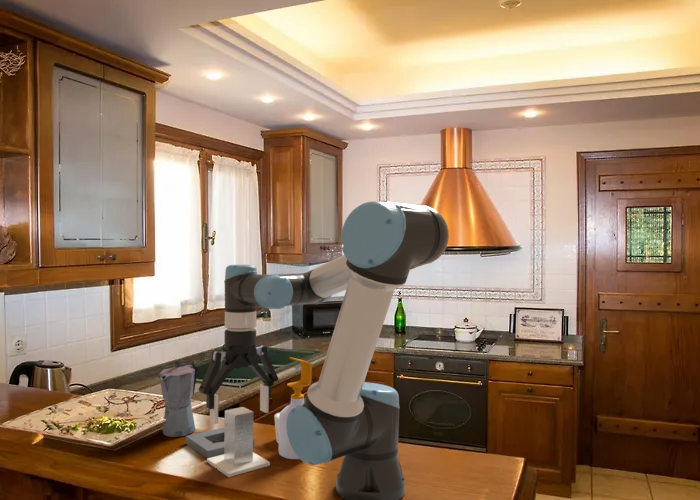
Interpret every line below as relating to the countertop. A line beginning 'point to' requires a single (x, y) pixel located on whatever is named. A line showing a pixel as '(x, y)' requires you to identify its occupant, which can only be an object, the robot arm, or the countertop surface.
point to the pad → (239, 469)
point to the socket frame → (208, 442)
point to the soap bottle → (296, 400)
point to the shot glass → (277, 426)
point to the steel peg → (238, 436)
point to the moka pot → (178, 399)
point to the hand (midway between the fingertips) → (239, 416)
